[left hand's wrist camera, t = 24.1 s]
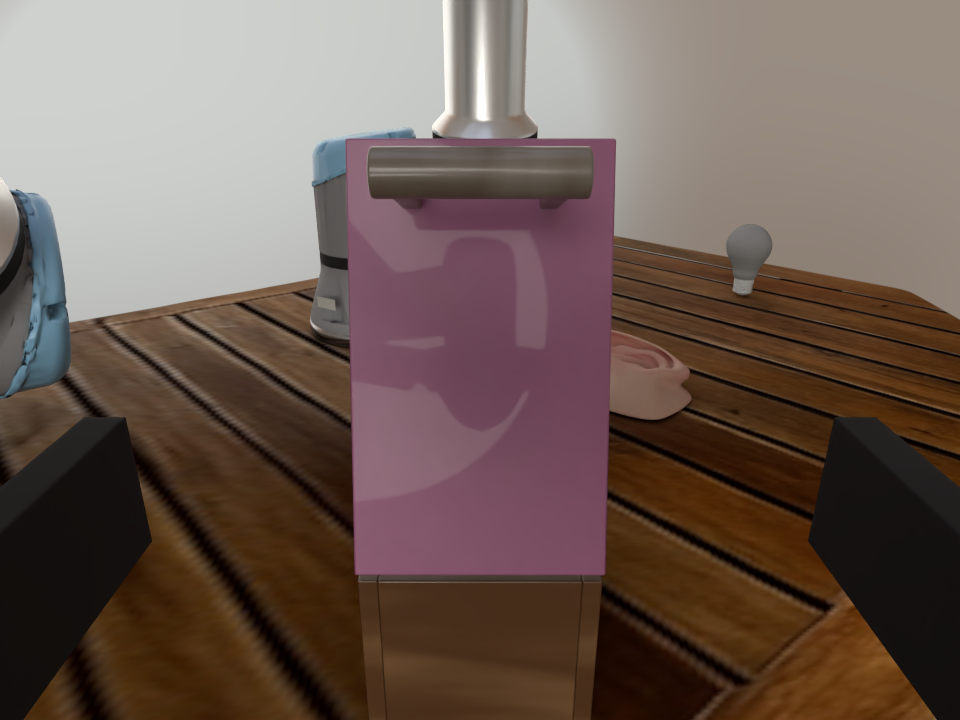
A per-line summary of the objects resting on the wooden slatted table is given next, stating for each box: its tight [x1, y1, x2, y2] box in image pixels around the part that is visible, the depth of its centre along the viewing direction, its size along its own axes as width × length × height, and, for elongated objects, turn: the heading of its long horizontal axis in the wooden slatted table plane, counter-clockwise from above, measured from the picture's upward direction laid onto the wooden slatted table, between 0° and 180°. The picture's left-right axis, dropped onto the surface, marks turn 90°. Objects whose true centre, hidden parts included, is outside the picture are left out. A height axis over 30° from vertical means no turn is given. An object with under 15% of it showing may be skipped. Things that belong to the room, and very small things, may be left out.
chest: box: [358, 575, 602, 720], centre depth 37 cm, size 16×10×9 cm, turn 0°
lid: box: [345, 138, 616, 575], centre depth 23 cm, size 17×10×8 cm
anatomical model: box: [609, 330, 691, 420], centre depth 67 cm, size 13×4×12 cm
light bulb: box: [726, 224, 772, 295], centre depth 96 cm, size 6×6×10 cm
